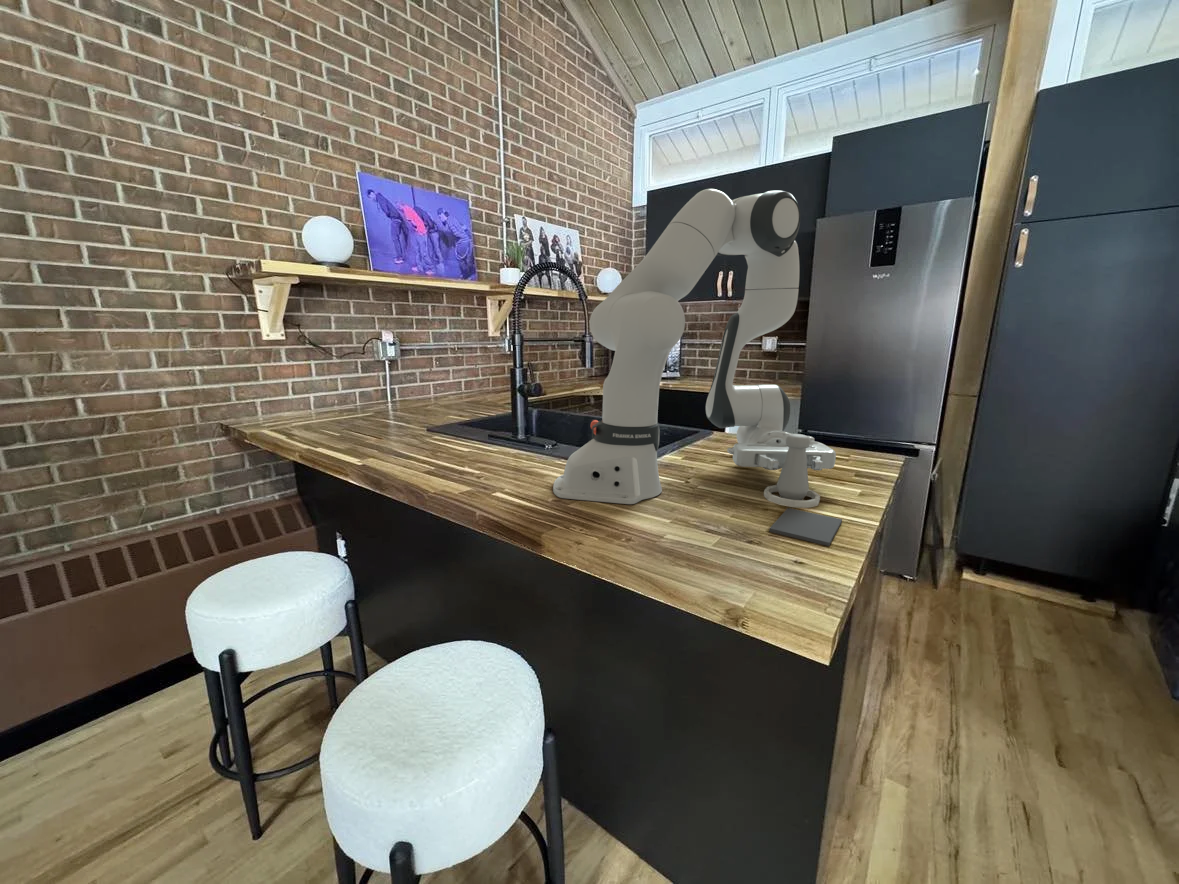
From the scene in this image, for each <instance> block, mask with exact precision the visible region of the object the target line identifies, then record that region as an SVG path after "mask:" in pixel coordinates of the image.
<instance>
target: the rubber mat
mask: <svg viewBox="0 0 1179 884" xmlns="http://www.w3.org/2000/svg"><path fill="white" fill-rule="evenodd" d="M842 521H843V519H842V518H838V517H833V516H828V515H823V514H820V513H815V512H811V511H810V512H809V511H805V510H801V509H797V508H796V509H795V508H792V507H787V508H786V509H785V510H784V512H783V513H782V514H781V515H779V517H777V519H776V520H775V521H774V523H772V525H771V526H770V527H769V528H768V529H769V530H768V531H769V532H770V533H774V534H777V535H781V536H785V537H790V538H795V539H799V540H803V541H807V542H809V543H813V544H818V545H821V546H822V545H823V546H826V547H830V545H831V543H832V541H833V540H834V538H835V536H836V534H837V532H838V531H839V529H840V526H841V524H842Z"/></svg>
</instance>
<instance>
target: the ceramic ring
mask: <svg viewBox="0 0 1179 884" xmlns="http://www.w3.org/2000/svg"><path fill="white" fill-rule="evenodd" d="M777 492H778V493H779V491H778V489H777V484H775V485H770V486H766V487H765V489H764V490H763V497H764V498H765V499H766V500H767V501H769V502H770V503H771V502H772V503H773V504H776V505H779V506H786V507H788V508H798V509H799V508H800V509H801V508H802V509H803V508H807V509H809V508H813V507H817V506H819V504H820V500H821V495H820V494H819V493H817V492H816V491H814V490H812V489H809V490H808V492H807V494H806V496H805V497H809V498H811V499H807V500H805V499H803V500H791V499H785V498H781V497H780V496H778V495H775V494H772V493H777Z"/></svg>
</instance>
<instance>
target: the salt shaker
mask: <svg viewBox="0 0 1179 884" xmlns="http://www.w3.org/2000/svg"><path fill="white" fill-rule="evenodd" d="M808 436H809V435H805V434H801V433H791V434H790V435H788V436H787V438H786V445H787V446H788V447H789V449H788V452H787V455H786V458H785V461H784V464H783V467H782V468H781V471H780V474H779V477H778V480H777V483H776V485H777V489H778V491H779V492H778V494H779V497H781V498H785V499H791V500H805V497H807V496H806V494H807V492H808V490H810V487H809V486H810V485H809V475H808V468H807V459H806V448H808V447H809V446H810V438H809V437H808Z"/></svg>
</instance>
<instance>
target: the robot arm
mask: <svg viewBox="0 0 1179 884" xmlns="http://www.w3.org/2000/svg"><path fill="white" fill-rule="evenodd" d="M800 224H801V209H800V205H799V204H798V201H797V199H796V198H795V196H794V195H793V194H792V193H790V192H788V191H785V190H768V191H765V192H763V193H755V194H750V195H744V196H740V197H738V198H737V197H736V198H734V199H731V198H730V197H729V196H728V195H727V194H726V193H725V192H723V191H721V190H718V189H715V188H706V189H703V190H700V191H699V192H697V193H696V194H694V196H692V197H691V198H690V199H689V201H687V202H686V204H684V205H683V207H682V208H680V210H679V211H678V212H677V213H676V215H675V216H674V217H673V218H672V219H671V221H670V222H669V223H668V224H667V226H666V228H665V229H664V230H663V232H661V234H660V236H659V237H658V238H657V240H656V241H655V243H654V244H653V245H652V246H651V248H650V249H649V250H648V253H646V255H645V257H643V259H642V260H641V261H640V262H639V263H638V264H637V265H636V266H635V267H634V268H633V270H631V271H630V272H629V273H628V274H627V275H626V276H625V277H624V279H623V280H621V282H620V283H618V284H617V286H616V287H615V288H614V289H613V290H612V292H611V293H609V294H608V296H607V297H606V298H605V299H603V301H602V302H600V303H599V304H598V305H597V306H596V307H594V309H593V311H592V313H591V314H590V318H589V330H590V332H591V333H590V334H591V335H592V337H593V338H594V340H595V341H596V342H597V343H598V344H600V345H601V346H603V347H604V348H606V349H609V350H611V351H614V356H613V358H612V359H613V360H612V364H611V366H610V370H609V373H608V375H607V376H606V378H604V381H603V385H602V415H601V417H602V420H601V421H598V420H597V419H592V420H591V422H590V429H591V440H589V441H588V442H587V443H585V444H584V445H583V446H581V447H580V448H578V449H576V451H574V452H573V453H571V455H570V456H569V457H568V458H567V461H566V463H565V467H564V471H563V474H561V475H559V476H558V477H557V478H555V480H554V482H553V487H552V492H553V494H554V495H555V496H556V497H557V498H560V499H569V500H570V499H571V500H577V501H579V500H580V501H592V502H602V503H610V504H612V503H613V504H620V505H621V504H623V505H624V504H625V505H634V504H637V503H639V502H641V501H643V500H647V499H652V498H654V497H657V496H659V495H660V494H661V493H662V492H663V488H662V483H661V481H660V474H659V466H658V451H659V446H660V424H659V422H658V415H659V414H658V412H659V411H658V410H659V399H660V398H659V397H660V387H661V386H660V385H661V381H662V376H663V373H664V370H665V366H666V364H667V360H668V358H669V355H670V354H671V351H672V349H673V348H674V347H675V346H676V344H677V343H678V342H679V341H680V340H681V338H682V337H683V334H684V332H685V327H686V316H685V312H684V309H683V307H682V305H681V303H680V302H679V301H680V300H681V299H683V298H685V297H687V296H688V295H689V294H690V292H691V291H692V290H693V289H694V288H695V286H696V285H697V283H698V282H699V280H700V279H701V278H702V276H703V275H704V274H705V271H706V270H707V269H708V268H709V266H710V265H711V264H712V262H713V260H714V259H715V258H716V256H721V257H728V256H739V255H744V258H745V260H746V264H747V271H746V277H745V278H746V279H745V287H744V297H743V300H742V302H741V305H740V307H739V308H738V310H737V312H736V313H733V314H731V316H730V317H729V319H728V320H727V323H726V326H725V329H724V333H723V335H722V339H721V344H720V348H719V352H718V357H717V361H716V366H715V369H714V374H713V377H712V382H711V385H710V389H709V391H708V395H707V398H706V402H705V414H706V418H707V419H708V420H709V422H711V424H713V425H714V426H715V427H717V428H719V429H724V428H725V429H726V428H734V427H738V428H737V430H736V433H735V434H736V441H737V442H736V443H734V444H733V446H732V447H727V449H726V450H727V453H728V454H729V455H732V460H733V463H734V464H735V465H736V466H738V467H741V468H742V467H749V468H750V467H751V468H762V469H764V470H767V471H777V470H780V469H781V470H782V467H783V464H784V461H785V458H786V455H787V452H788V449H789V447H788V446H787V445H786V438H787V436H788V435H790V434H792V433H790V432H788V431H785V429H786V428H787V426H788V424H789V422H790V415H791V403H790V399H789V396H788V395H787V394H786V392H785V391H784V389H782V387H781V386H779V385H778V384H776V383H775V384H766V383H765V384H762V383H761V384H745V385H744V384H743V385H734V384H733V383H734V378H735V376H736V371H737V366H738V362H739V358H740V354H741V351H742V350H743V348H744V347H745V346H746V344H748V343H749V342H750V341H753V340H755V339H756V338H759V337H762V336H763V335H765V334H768V333H771V332H773V331H775V330H777V329H779V328H781V327H783V325H785V324H786V323H787V322H788V321H789V320H790V319H791V318H792V317H793V315H794V313H795V311H796V308H797V305H798V298H799V290H800V289H799V286H800V255H799V247H798V246H799V245H798V243H797V241H796V238H797V235H798V233H799V229H800ZM807 436H808V437H809V438H810V446H809V447H808V448H806V459H807V469H811V470H812V471H822V470H823V469H827V470H828V469H829V470H831V469H833V468H835V464H836V459H837V453H836V451H835V450H834V449H833V448H831V447H830V446H828V445H826V444H824V443H822V442H819V441H815V438H814V437H813V436H810V435H807Z"/></svg>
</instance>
